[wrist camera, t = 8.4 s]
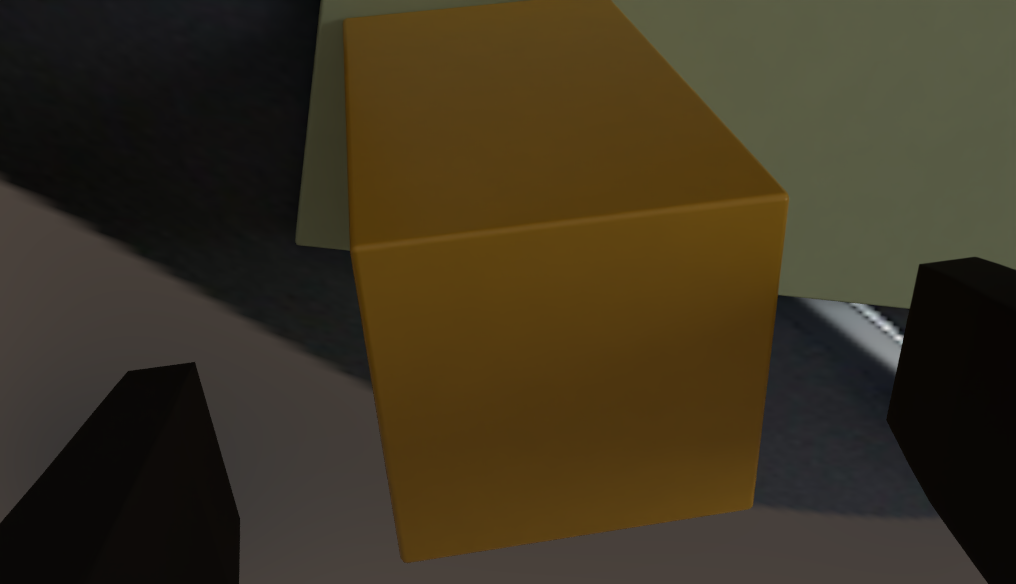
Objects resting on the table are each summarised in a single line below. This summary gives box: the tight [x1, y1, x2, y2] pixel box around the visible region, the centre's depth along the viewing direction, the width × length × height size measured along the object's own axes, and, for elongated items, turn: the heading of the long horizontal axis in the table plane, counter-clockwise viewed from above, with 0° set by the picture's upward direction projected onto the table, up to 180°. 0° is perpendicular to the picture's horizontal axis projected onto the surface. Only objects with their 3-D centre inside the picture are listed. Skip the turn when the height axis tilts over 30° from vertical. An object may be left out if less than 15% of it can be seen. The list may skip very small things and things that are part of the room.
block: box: [343, 0, 789, 563], centre depth 12 cm, size 4×4×7 cm
